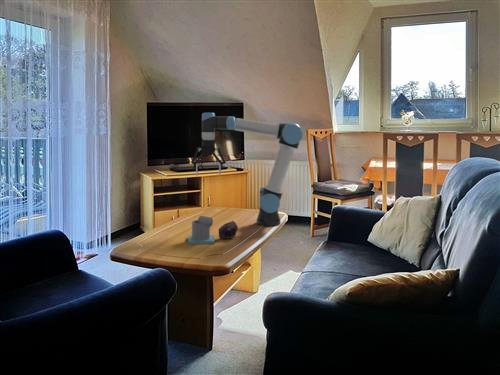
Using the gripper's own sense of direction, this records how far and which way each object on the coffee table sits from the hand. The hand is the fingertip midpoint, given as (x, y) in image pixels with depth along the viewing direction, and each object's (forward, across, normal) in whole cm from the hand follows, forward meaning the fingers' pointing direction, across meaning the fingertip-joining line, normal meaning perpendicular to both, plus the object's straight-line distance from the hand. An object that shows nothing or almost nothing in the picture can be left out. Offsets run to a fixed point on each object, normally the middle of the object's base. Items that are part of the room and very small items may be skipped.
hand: (208, 175), depth 261 cm
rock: (+32, -11, +24) cm, 41 cm away
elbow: (+30, +5, +29) cm, 42 cm away
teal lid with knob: (+32, +5, +29) cm, 43 cm away
